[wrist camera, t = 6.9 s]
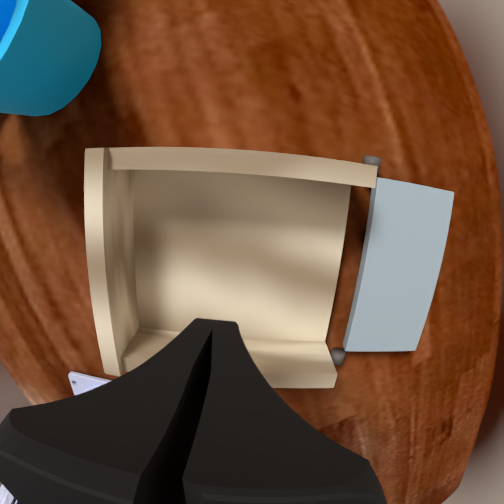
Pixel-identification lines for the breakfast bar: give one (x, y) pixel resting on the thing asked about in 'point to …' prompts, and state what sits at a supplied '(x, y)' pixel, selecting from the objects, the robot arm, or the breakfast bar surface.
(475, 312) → the breakfast bar surface
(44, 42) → the mug
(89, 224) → the box
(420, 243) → the panel
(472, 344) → the breakfast bar surface
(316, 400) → the breakfast bar surface
